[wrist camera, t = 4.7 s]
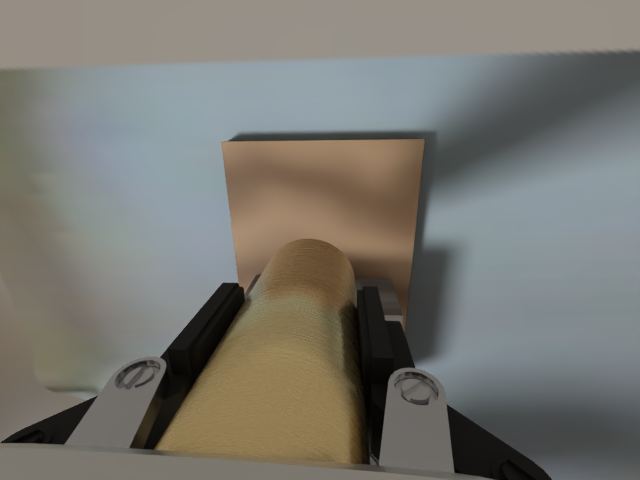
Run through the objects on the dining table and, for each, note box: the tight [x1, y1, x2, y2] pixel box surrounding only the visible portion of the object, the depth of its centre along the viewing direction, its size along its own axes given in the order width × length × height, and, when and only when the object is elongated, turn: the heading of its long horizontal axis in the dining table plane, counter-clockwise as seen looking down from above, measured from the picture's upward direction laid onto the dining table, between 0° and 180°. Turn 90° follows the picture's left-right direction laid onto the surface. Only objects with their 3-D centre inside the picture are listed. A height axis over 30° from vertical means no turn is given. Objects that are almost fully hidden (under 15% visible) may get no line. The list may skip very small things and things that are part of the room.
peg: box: [154, 239, 370, 465], centre depth 9 cm, size 4×4×12 cm
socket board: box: [221, 139, 425, 334], centre depth 22 cm, size 22×14×6 cm, turn 1°
